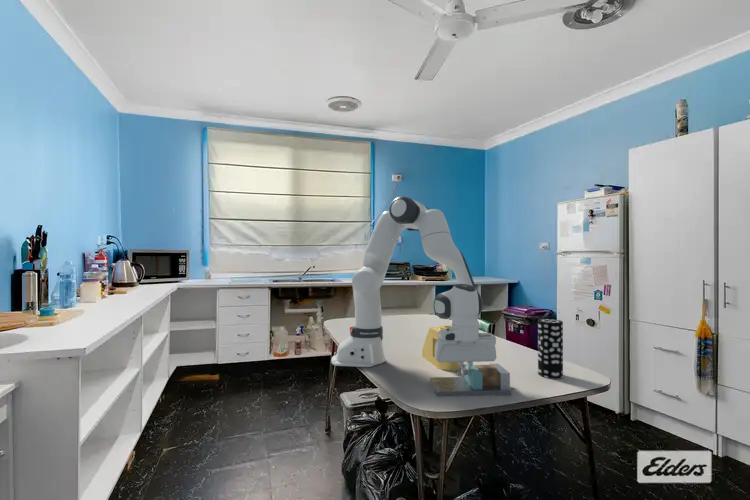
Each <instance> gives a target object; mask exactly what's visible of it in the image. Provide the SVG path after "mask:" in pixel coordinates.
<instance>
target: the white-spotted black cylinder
mask: <svg viewBox="0 0 750 500" xmlns="http://www.w3.org/2000/svg"><path fill="white" fill-rule="evenodd" d="M563 343H564V322H563V321H562V320H560V319H555V318H540V319H538V320H537V374H538V375H539V376H540V377H543V378H547V379H552V380H553V379H554V380H556V379H558V380H559V379H563V378H564V351H563V350H564V346H563V345H564V344H563Z"/></svg>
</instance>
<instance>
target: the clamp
mask: <svg viewBox="0 0 750 500" xmlns="http://www.w3.org/2000/svg"><path fill="white" fill-rule="evenodd" d="M451 326H452V324H451V325H450V324H445V325H443V324H441V325H439V326H434V327H429V328H428V330H427V334H426V337H425V339H424V344H423V345H422V350H421V352H422V353H421V355H422V358H423V359H425V360H426V361H427V362H429V363H430V364H431V365H433V366H434V367H436V368H437V369H439V370H442V371H451V372H452V371H453V372H454V371H458V370H461V368H460V366H459V364H458V362H438V361H437V360H436V358H435V345H436V341H437V339H438V338H439V336H438V331H440V330H443V329H446V328H449V327H451Z"/></svg>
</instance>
